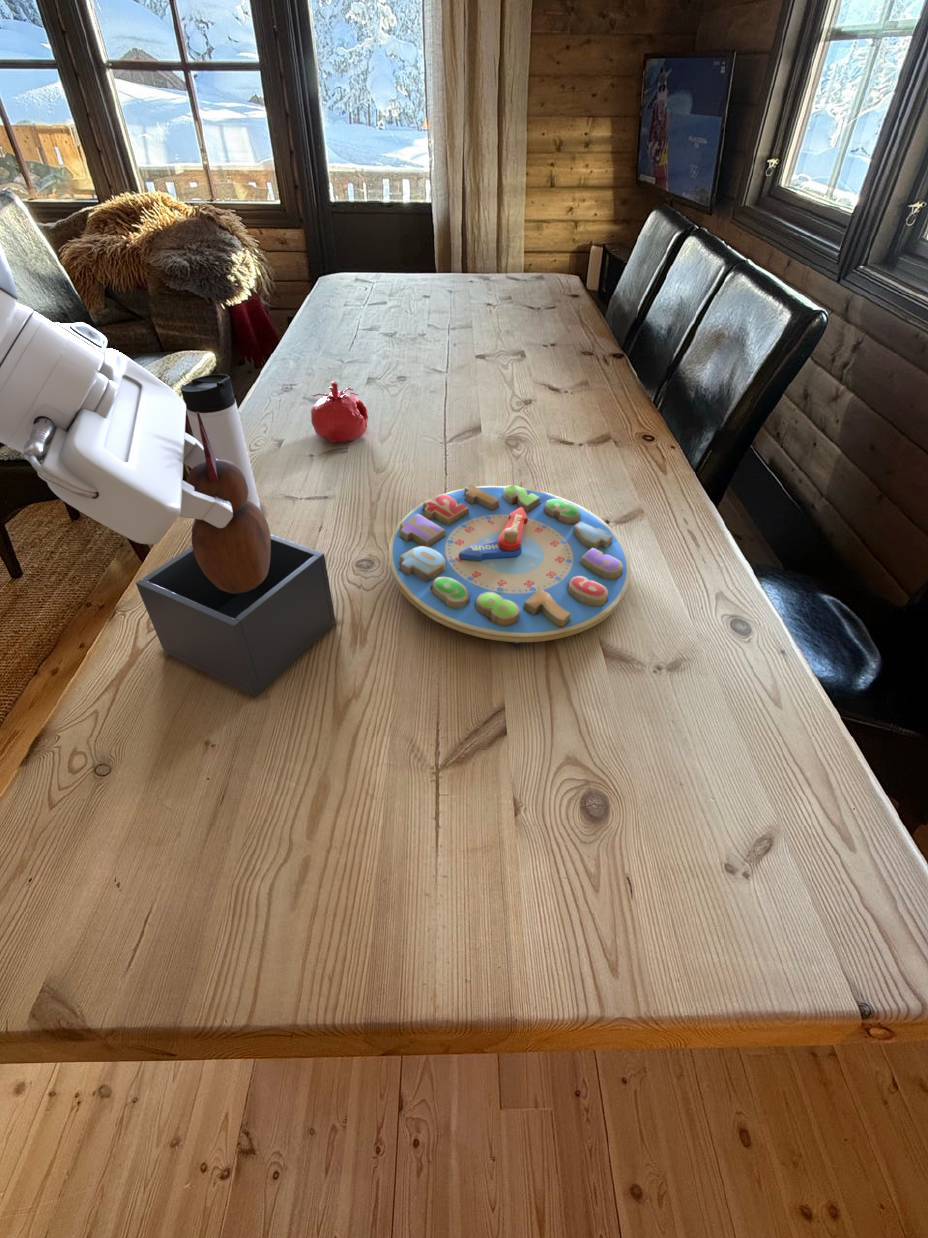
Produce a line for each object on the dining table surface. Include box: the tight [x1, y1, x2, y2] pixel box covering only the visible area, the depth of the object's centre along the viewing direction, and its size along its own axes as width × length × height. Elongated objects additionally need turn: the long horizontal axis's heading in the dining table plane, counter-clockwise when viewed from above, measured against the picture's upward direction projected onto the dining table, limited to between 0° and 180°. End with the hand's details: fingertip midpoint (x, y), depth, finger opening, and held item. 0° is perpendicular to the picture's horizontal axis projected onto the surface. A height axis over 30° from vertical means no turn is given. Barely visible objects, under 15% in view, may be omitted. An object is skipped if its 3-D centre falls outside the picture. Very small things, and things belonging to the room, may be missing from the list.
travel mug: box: [180, 373, 262, 511], centre depth 89 cm, size 6×7×20 cm
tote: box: [135, 533, 337, 698], centre depth 72 cm, size 14×14×10 cm
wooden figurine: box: [185, 412, 271, 594], centre depth 54 cm, size 7×6×15 cm
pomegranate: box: [310, 381, 369, 444], centre depth 112 cm, size 10×10×9 cm
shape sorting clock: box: [388, 484, 632, 645], centre depth 83 cm, size 31×30×6 cm
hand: (227, 497), depth 54 cm, fingers closed on wooden figurine, 5 cm apart
